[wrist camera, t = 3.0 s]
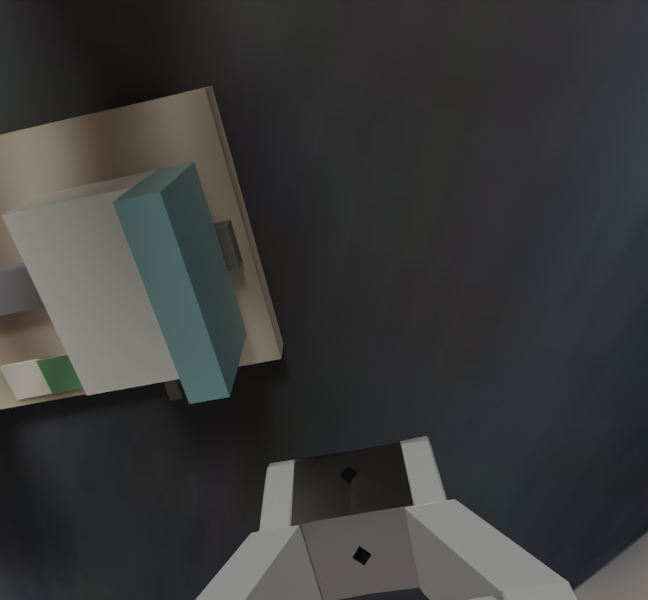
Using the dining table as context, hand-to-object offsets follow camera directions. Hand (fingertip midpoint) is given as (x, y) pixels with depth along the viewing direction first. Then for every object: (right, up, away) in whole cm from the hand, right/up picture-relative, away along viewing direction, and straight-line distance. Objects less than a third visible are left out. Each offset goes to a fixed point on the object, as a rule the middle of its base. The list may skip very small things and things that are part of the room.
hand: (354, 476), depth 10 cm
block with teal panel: (-8, +4, +14) cm, 17 cm away
